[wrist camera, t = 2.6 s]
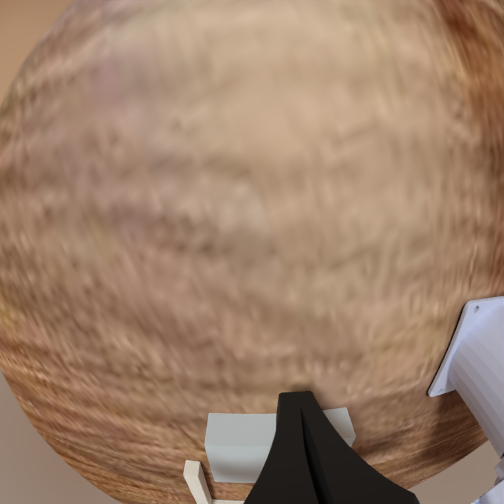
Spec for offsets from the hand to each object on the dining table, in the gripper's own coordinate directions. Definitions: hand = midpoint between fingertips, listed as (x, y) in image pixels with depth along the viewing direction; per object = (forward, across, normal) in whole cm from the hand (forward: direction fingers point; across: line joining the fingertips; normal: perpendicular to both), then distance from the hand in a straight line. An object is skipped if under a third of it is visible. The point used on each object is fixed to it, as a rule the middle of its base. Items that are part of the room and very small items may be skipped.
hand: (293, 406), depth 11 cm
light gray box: (+4, 0, +8) cm, 9 cm away
